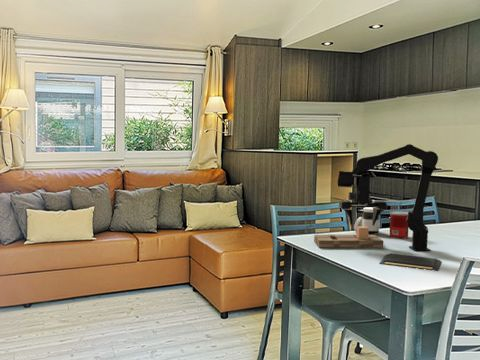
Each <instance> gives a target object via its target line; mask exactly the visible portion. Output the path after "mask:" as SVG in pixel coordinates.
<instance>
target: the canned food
mask: <svg viewBox="0 0 480 360" xmlns="http://www.w3.org/2000/svg"><path fill="white" fill-rule="evenodd" d="M389 214H390V216H389V237H390V238H393V239H407V238H408V237H409V227H408V222H406V219H407V217H408V212H407V211H400V210H399V211H396V210H395V211H390V213H389Z"/></svg>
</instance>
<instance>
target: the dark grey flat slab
mask: <svg viewBox="0 0 480 360" xmlns="http://www.w3.org/2000/svg"><path fill="white" fill-rule="evenodd" d="M378 264H379V265H383V266H393V267H399V268H400V267H401V268H407V267H408V268H409V269H416V268H418V269H417V270H424V269H426V270H425V271H432V270H434V271H433V272H439V271H440V269H441V267H442V264H443V262H442V260H440V259H437V258H434V257H426V256H418V255H417V256H416V255H408V254H399V253H391V252H390V253H387V254H386V255H384V256H383V258H382V259H381V260H380V262H379V263H378Z"/></svg>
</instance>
